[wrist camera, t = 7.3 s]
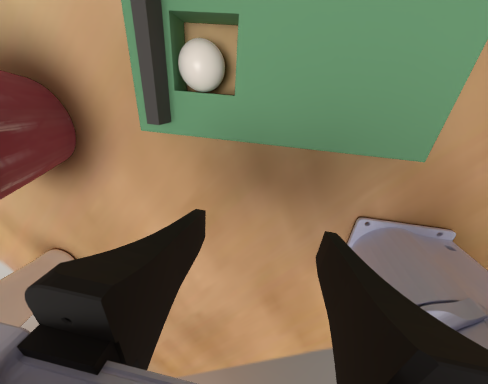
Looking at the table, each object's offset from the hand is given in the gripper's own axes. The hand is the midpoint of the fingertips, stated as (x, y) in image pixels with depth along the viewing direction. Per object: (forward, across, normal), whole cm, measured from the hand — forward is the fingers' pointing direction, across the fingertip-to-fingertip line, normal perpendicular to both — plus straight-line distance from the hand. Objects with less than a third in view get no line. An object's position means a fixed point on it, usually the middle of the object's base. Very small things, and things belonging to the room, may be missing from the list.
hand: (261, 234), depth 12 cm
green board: (+10, 0, -10) cm, 14 cm away
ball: (+8, +7, -9) cm, 14 cm away
